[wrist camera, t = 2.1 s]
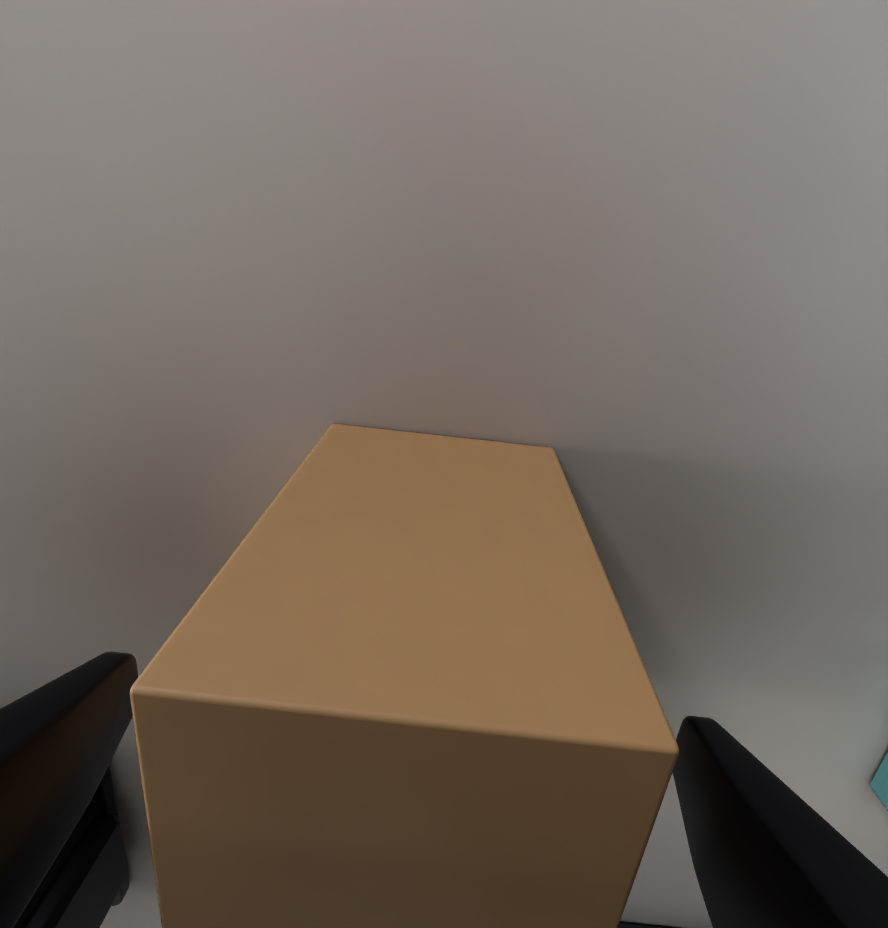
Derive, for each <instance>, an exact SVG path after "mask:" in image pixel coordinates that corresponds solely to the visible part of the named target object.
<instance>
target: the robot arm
mask: <svg viewBox="0 0 888 928" xmlns="http://www.w3.org/2000/svg"><path fill="white" fill-rule="evenodd" d="M137 679H138V671H137V664H136V659H135V657H134V656H133V655H131V654H129V653H119V652H106V653H103V654H101V655H99V656H97V657H96V658H94V659H92V660H90V661H88V662H86V663H84V664H83V665H81V666H79V667H77V668H75V669H73V670H72V671H70V672H68V673H66V674H64V675H62V676H60V677H59V678H57V679H55V680H53V681H51V682H49V683H47V684H46V685H44V686H42V687H40V688H38V689H36V690H35V691H33V692H31V693H29V694H27V695H25V696H23V697H22V698H20V699H18V700H16V701H14V702H12V703H11V704H9V705H7V706H5V707H3V708H1V709H0V928H99V927H100V925H101V923H102V922H103V920H104V918H105V916H106V914H107V912H108V911H109V909H110V907H111V906H115V905H118V904H119V903H120V902H121V901H122V900H123V898H124V896H125V894H126V892H127V890H128V888H129V881H128V875H127V867H126V861H125V855H124V849H123V843H122V837H121V831H120V825H119V821H118V815H117V809H116V803H115V797H114V791H113V785H112V779H111V773H110V767H109V763H110V761H111V759H112V757H113V755H114V753H115V751H116V749H117V747H118V745H119V743H120V741H121V739H122V737H123V735H124V733H125V731H126V729H127V727H128V725H129V723H130V721H131V719H132V717H133V714H132V706H131V699H130V689H131V687H132V685H133V684H134V682H135V681H136V680H137ZM676 742H677V744H678V748H679V755H678V758H677V760H676V763H675V766H674V769H673V775H674V780H675V784H676V789H677V794H678V798H679V803H680V807H681V812H682V816H683V821H684V825H685V830H686V834H687V839H688V843H689V848H690V853H691V857H692V861H693V865H694V869H695V872H696V876H697V879H698V882H699V886H700V889H701V892H702V895H703V898H704V901H705V904H706V908H707V911H708V914H709V917H710V920H711V923H712V926H713V928H888V877H887V876H886V875H885V874H884V873H883V872H882V871H881V870H880V869H878V868H877V867H876V866H875V865H874V864H873V863H872V862H871V861H870V860H868V859H867V858H866V857H865V856H864V855H863V854H862V853H861V852H860V851H859V850H857V849H856V848H855V847H854V846H853V845H852V844H851V843H850V842H849V841H847V840H846V839H845V838H844V837H843V836H842V835H841V834H840V833H839V832H838V831H836V830H835V829H834V828H833V827H832V826H831V825H830V824H829V823H828V822H826V821H825V820H824V819H823V818H822V817H821V816H820V815H819V814H818V813H817V812H815V811H814V810H813V809H812V808H811V807H810V806H809V805H808V804H807V803H805V802H804V801H803V800H802V799H801V798H800V797H799V796H798V795H797V794H796V793H794V792H793V791H792V790H791V789H790V788H789V787H788V786H787V785H786V784H784V783H783V782H782V781H781V780H780V779H779V778H778V777H777V776H776V775H775V774H773V773H772V772H771V771H770V770H769V769H768V768H767V767H766V766H765V765H763V764H762V763H761V762H760V761H759V760H758V759H757V758H756V757H755V756H754V755H752V754H751V753H750V752H749V751H748V750H747V749H746V748H745V747H744V746H742V745H741V744H740V743H739V742H738V741H737V740H736V739H735V738H734V737H733V736H731V735H730V734H729V733H728V732H727V731H726V730H725V729H724V728H723V727H721V726H720V725H719V724H718V723H717V722H716V721H714V720H713V719H711V718H706V717H697V716H687V717H685V718H684V719H683V721H682V724H681V727H680V730H679V732H678V735H677V738H676Z"/></svg>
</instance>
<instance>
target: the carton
mask: <svg viewBox="0 0 888 928" xmlns="http://www.w3.org/2000/svg"><path fill="white" fill-rule="evenodd" d="M130 699H131V706H132V714H133V721H134V728H135V735H136V742H137V749H138V757H139V764H140V771H141V778H142V785H143V793H144V800H145V807H146V814H147V821H148V829H149V836H150V843H151V850H152V857H153V865H154V872H155V879H156V886H157V893H158V900H159V908H160V915H161V922H162V928H618V925H619V922H620V919H621V916H622V913H623V911H624V908H625V905H626V902H627V899H628V896H629V894H630V891H631V888H632V885H633V882H634V879H635V877H636V874H637V871H638V868H639V865H640V862H641V860H642V857H643V854H644V851H645V848H646V845H647V843H648V840H649V837H650V834H651V831H652V828H653V826H654V823H655V820H656V817H657V814H658V811H659V809H660V806H661V803H662V800H663V797H664V794H665V792H666V789H667V786H668V783H669V780H670V777H671V775H672V772H673V769H674V766H675V763H676V760H677V758H678V755H679V748H678V744H677V742H676V740H675V737H674V735H673V733H672V730H671V728H670V725H669V723H668V721H667V718H666V716H665V713H664V711H663V709H662V706H661V704H660V702H659V699H658V697H657V694H656V692H655V690H654V687H653V685H652V682H651V680H650V678H649V675H648V673H647V671H646V668H645V666H644V663H643V661H642V659H641V656H640V654H639V651H638V649H637V647H636V644H635V642H634V639H633V637H632V635H631V632H630V630H629V628H628V625H627V623H626V620H625V618H624V616H623V613H622V611H621V608H620V606H619V604H618V601H617V599H616V597H615V594H614V592H613V589H612V587H611V585H610V582H609V580H608V577H607V575H606V573H605V570H604V568H603V566H602V563H601V561H600V558H599V556H598V554H597V551H596V549H595V546H594V544H593V542H592V539H591V537H590V534H589V532H588V530H587V527H586V525H585V523H584V520H583V518H582V515H581V513H580V511H579V508H578V506H577V503H576V501H575V499H574V496H573V494H572V492H571V489H570V487H569V484H568V482H567V480H566V477H565V475H564V472H563V470H562V468H561V465H560V463H559V461H558V458H557V456H556V453H555V451H554V449H553V448H549V447H540V446H531V445H521V444H512V443H503V442H494V441H485V440H476V439H467V438H458V437H449V436H440V435H431V434H422V433H413V432H404V431H395V430H386V429H377V428H368V427H359V426H349V425H340V424H332V425H331V426H330V427H329V429H328V430H327V431H326V433H325V434H324V435H323V437H322V438H321V439H320V440H319V442H318V443H317V444H316V446H315V447H314V448H313V450H312V451H311V452H310V454H309V455H308V456H307V457H306V459H305V460H304V461H303V463H302V464H301V465H300V467H299V468H298V469H297V471H296V472H295V473H294V474H293V476H292V477H291V478H290V480H289V481H288V482H287V484H286V485H285V486H284V488H283V489H282V490H281V491H280V493H279V494H278V495H277V497H276V498H275V499H274V501H273V502H272V503H271V505H270V506H269V507H268V508H267V510H266V511H265V512H264V514H263V515H262V516H261V518H260V519H259V520H258V522H257V523H256V524H255V525H254V527H253V528H252V529H251V531H250V532H249V533H248V535H247V536H246V537H245V539H244V540H243V541H242V543H241V544H240V545H239V546H238V548H237V549H236V550H235V552H234V553H233V554H232V556H231V557H230V558H229V560H228V561H227V562H226V563H225V565H224V566H223V567H222V569H221V570H220V571H219V573H218V574H217V575H216V577H215V578H214V579H213V580H212V582H211V583H210V584H209V586H208V587H207V588H206V590H205V591H204V592H203V594H202V595H201V596H200V597H199V599H198V600H197V601H196V603H195V604H194V605H193V607H192V608H191V609H190V611H189V612H188V613H187V614H186V616H185V617H184V618H183V620H182V621H181V622H180V624H179V625H178V626H177V628H176V629H175V630H174V631H173V633H172V634H171V635H170V637H169V638H168V639H167V641H166V642H165V643H164V645H163V646H162V647H161V648H160V650H159V651H158V652H157V654H156V655H155V656H154V658H153V659H152V660H151V662H150V663H149V664H148V665H147V667H146V668H145V669H144V671H143V672H142V673H141V675H140V676H139V677H138V679H137V680H136V681H135V682H134V684H133V685H132V687H131V689H130Z"/></svg>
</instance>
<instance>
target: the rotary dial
mask: <svg viewBox="0 0 888 928" xmlns="http://www.w3.org/2000/svg"><path fill="white" fill-rule="evenodd" d="M870 787H871V789H872V790H873V791H874V793H875V794H876V796H877V797H878V798H879V800H880V801H881V802H882V804H883V805H884V806H885V808H886V809H887V810H888V752H887V754H886V755H885V757H884V759H883V761H882V763H881V765H880V766H879V768H878V770H877V772H876V774H875V776H874V778H873V779H872V781H871V783H870Z"/></svg>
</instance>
